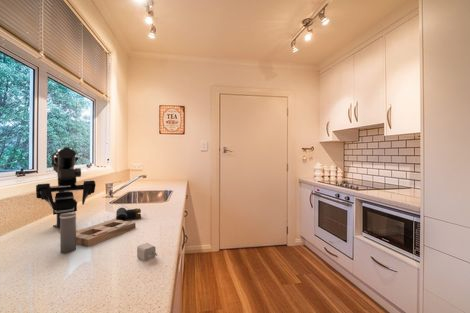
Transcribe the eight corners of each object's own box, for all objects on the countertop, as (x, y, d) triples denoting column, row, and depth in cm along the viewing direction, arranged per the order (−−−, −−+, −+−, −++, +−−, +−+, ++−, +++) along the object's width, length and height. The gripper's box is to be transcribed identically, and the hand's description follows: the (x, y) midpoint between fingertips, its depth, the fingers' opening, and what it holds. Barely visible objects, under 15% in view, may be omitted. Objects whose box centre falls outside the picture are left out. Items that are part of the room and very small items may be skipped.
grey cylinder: (57, 252, 78) (56, 214, 77) (71, 247, 82) (70, 211, 82) (65, 254, 76) (65, 216, 76) (79, 249, 80) (79, 212, 80)
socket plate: (63, 240, 88) (63, 233, 88) (113, 224, 108) (113, 218, 108) (88, 246, 82) (88, 238, 82) (135, 227, 103) (135, 221, 103)
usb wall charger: (148, 254, 76) (148, 242, 76) (159, 260, 72) (160, 247, 72) (137, 258, 73) (137, 246, 73) (148, 264, 69) (148, 251, 69)
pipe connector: (139, 205, 126) (141, 211, 113) (139, 214, 126) (142, 221, 113) (116, 207, 121) (115, 214, 107) (116, 217, 121) (116, 225, 108)
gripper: (35, 162, 84) (34, 195, 75) (94, 161, 96) (99, 189, 87) (36, 182, 89) (36, 214, 81) (91, 178, 101) (96, 206, 93)
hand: (68, 205), depth 85 cm, fingers open, 9 cm apart
